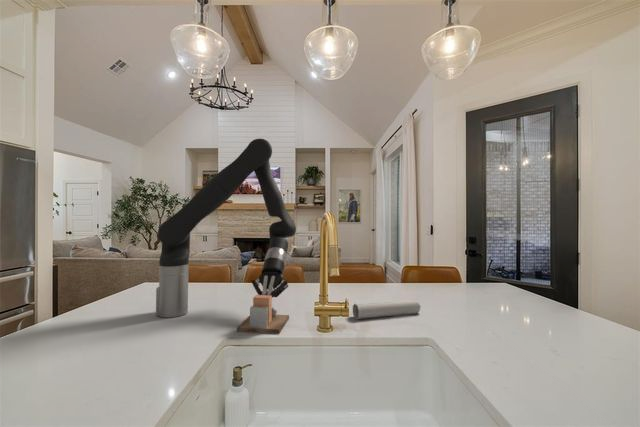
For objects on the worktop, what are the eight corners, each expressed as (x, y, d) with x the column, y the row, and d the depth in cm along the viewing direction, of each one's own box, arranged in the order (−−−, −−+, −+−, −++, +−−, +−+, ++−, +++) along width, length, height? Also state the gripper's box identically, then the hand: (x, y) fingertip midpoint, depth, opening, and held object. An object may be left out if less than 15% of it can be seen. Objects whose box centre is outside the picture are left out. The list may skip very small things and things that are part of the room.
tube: (413, 299, 110) (351, 304, 102) (421, 298, 105) (357, 303, 98) (416, 314, 108) (353, 320, 101) (424, 313, 103) (359, 320, 96)
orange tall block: (253, 323, 90) (253, 297, 90) (256, 320, 93) (256, 294, 93) (268, 324, 89) (269, 298, 89) (271, 321, 92) (271, 295, 92)
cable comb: (261, 315, 98) (261, 307, 98) (262, 314, 99) (262, 306, 99) (276, 316, 97) (276, 308, 98) (277, 315, 99) (277, 307, 99)
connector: (249, 328, 87) (249, 307, 87) (252, 324, 90) (253, 305, 90) (266, 328, 86) (266, 308, 86) (268, 325, 89) (269, 305, 89)
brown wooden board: (236, 331, 87) (236, 327, 87) (251, 317, 100) (251, 313, 100) (279, 333, 86) (279, 329, 86) (288, 318, 99) (289, 315, 99)
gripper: (254, 256, 103) (241, 300, 91) (291, 257, 102) (282, 302, 90) (259, 268, 109) (247, 312, 96) (294, 269, 107) (286, 314, 95)
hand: (264, 307), depth 93 cm, fingers closed
